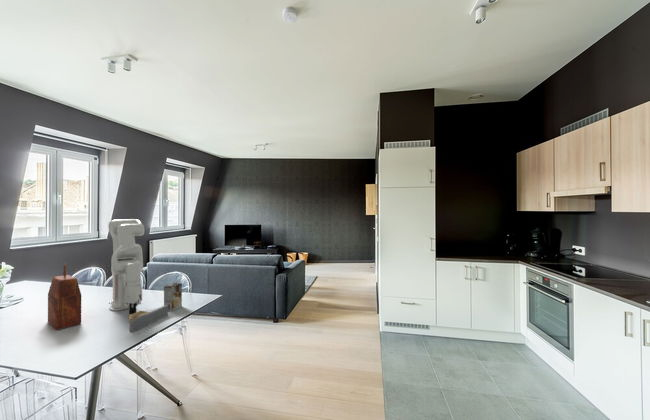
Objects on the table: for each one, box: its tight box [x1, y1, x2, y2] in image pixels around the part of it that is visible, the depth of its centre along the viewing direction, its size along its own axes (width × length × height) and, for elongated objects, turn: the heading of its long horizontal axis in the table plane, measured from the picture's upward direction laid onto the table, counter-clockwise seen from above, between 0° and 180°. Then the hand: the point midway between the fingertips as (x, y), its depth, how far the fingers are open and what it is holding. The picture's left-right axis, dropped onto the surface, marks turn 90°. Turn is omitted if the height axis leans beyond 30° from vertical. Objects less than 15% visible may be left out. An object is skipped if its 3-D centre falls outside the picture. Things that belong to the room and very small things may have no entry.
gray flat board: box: [129, 304, 169, 333], centre depth 153 cm, size 2×24×6 cm, turn 169°
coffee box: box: [163, 282, 183, 312], centre depth 175 cm, size 9×6×16 cm
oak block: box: [128, 310, 150, 324], centre depth 154 cm, size 7×7×5 cm
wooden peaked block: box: [47, 263, 82, 331], centre depth 151 cm, size 10×19×35 cm, turn 56°
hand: (132, 313), depth 155 cm, fingers closed
